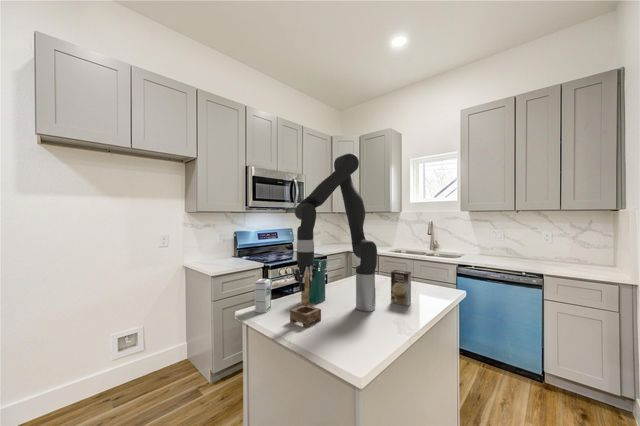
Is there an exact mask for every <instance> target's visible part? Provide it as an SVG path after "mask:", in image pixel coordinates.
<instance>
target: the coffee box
mask: <svg viewBox="0 0 640 426" xmlns="http://www.w3.org/2000/svg"><path fill="white" fill-rule="evenodd" d="M411 290H412V272H411V271H407V270H401V269H393V270H392V271H391V272H390V303H393V304H396V305H397V304H399V305H403V306H409V305H410V304H411V303H412V299H411V298H412V291H411Z"/></svg>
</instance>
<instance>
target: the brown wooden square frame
mask: <svg viewBox="0 0 640 426" xmlns="http://www.w3.org/2000/svg"><path fill="white" fill-rule="evenodd" d="M321 321H322V309H321V308H318V307H315V306H311V305H308V306H302V305H301V306H298V307H295V308H293V309H289V322H290V323H291V324H295V323H296V322H299V323H302V327H303V328H305V329H307V328H309V327H310V323H312V322H317V323H319V322H321Z"/></svg>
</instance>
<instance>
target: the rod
mask: <svg viewBox="0 0 640 426" xmlns="http://www.w3.org/2000/svg"><path fill="white" fill-rule="evenodd" d="M301 275H304V274H301ZM301 280H302V278H301ZM304 283H305V291H304V292H302V291H300V292H301V293H300V295H301V296H300V297H301V298H300V299H301V301H300V303H301V306H310V302H309V267H308V270H307V274H306V277H305V282H304Z"/></svg>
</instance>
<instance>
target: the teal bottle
mask: <svg viewBox="0 0 640 426" xmlns="http://www.w3.org/2000/svg"><path fill="white" fill-rule="evenodd" d="M327 262H328V261H327V259H322V260H321V259H318V258H314V261H313V264H314V265H317V270H316V274H315V278H314V279H312V281H311V289H310V290H309V303H314V304H320V303H322V302H325V300H326V268H327ZM312 275H313V273H312Z"/></svg>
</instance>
